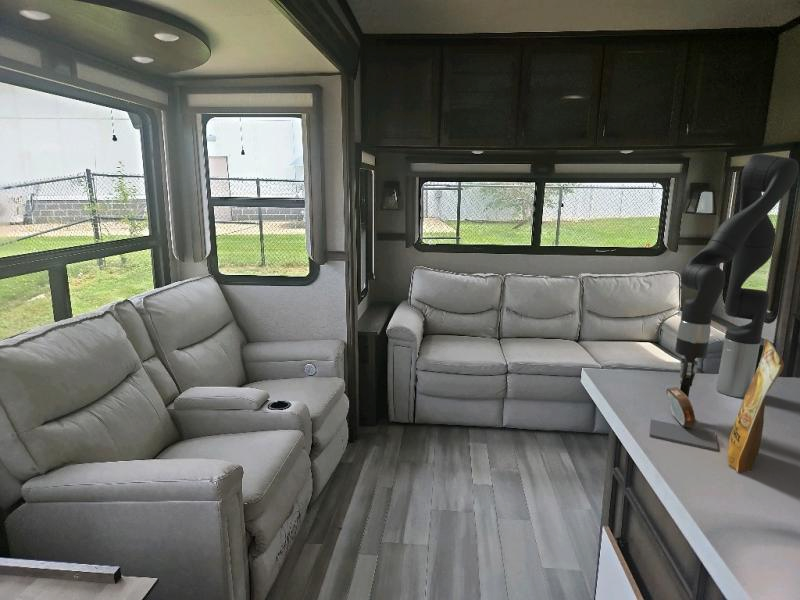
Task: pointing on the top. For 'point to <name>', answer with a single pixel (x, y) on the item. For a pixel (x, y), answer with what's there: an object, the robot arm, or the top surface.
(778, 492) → the top surface
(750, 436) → the pancake mix bag
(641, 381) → the top surface
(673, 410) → the tin
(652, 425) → the mat
